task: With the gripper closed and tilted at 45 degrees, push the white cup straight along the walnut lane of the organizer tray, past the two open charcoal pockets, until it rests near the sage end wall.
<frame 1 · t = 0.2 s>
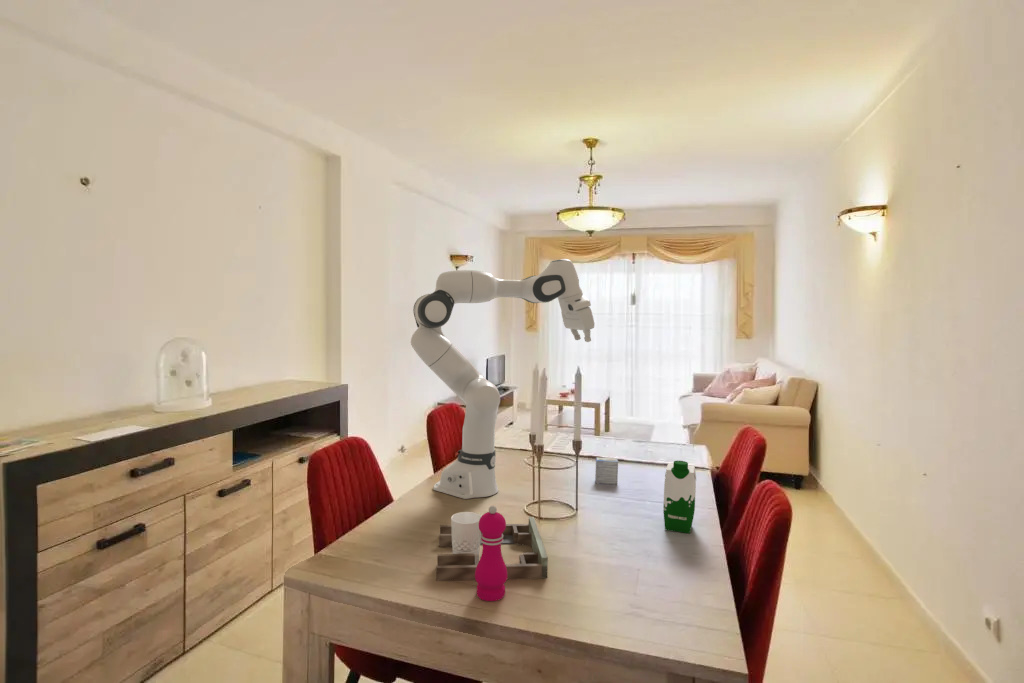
hand: (583, 340, 197), 52 cm above the table, fingers open, 8 cm apart
milk carton: (678, 528, 163), on the table
organizer tray: (489, 555, 142), on the table
medicine box: (606, 482, 204), on the table
white cup: (465, 556, 142), on the table
pepper mill: (490, 595, 123), on the table
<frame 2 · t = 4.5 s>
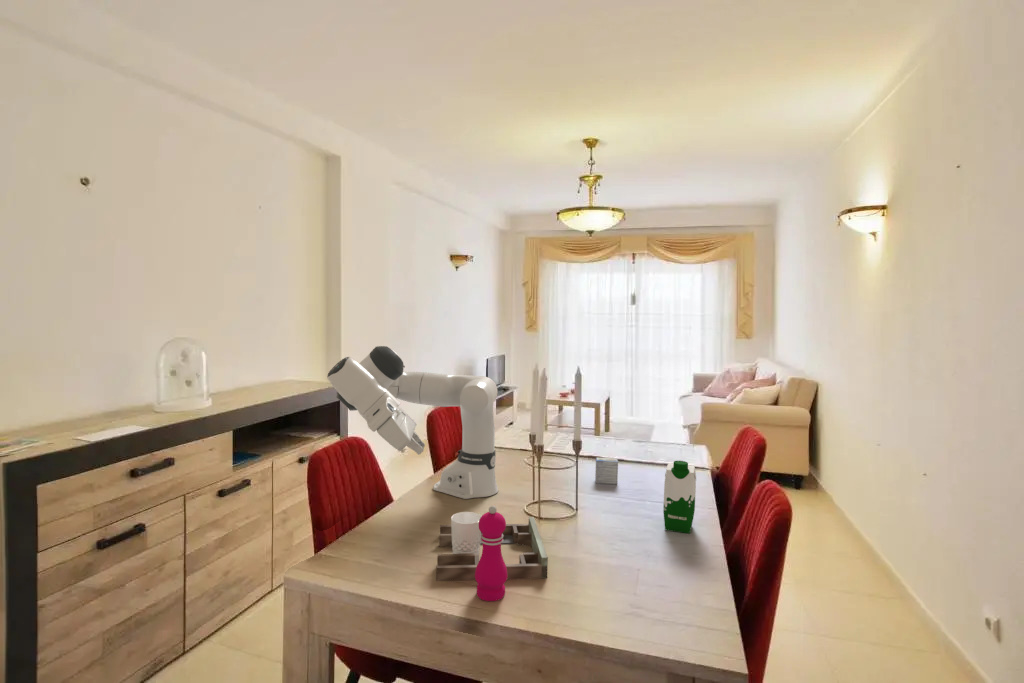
hand: (422, 449, 139), 27 cm above the table, fingers open, 3 cm apart
nothing on the table moved.
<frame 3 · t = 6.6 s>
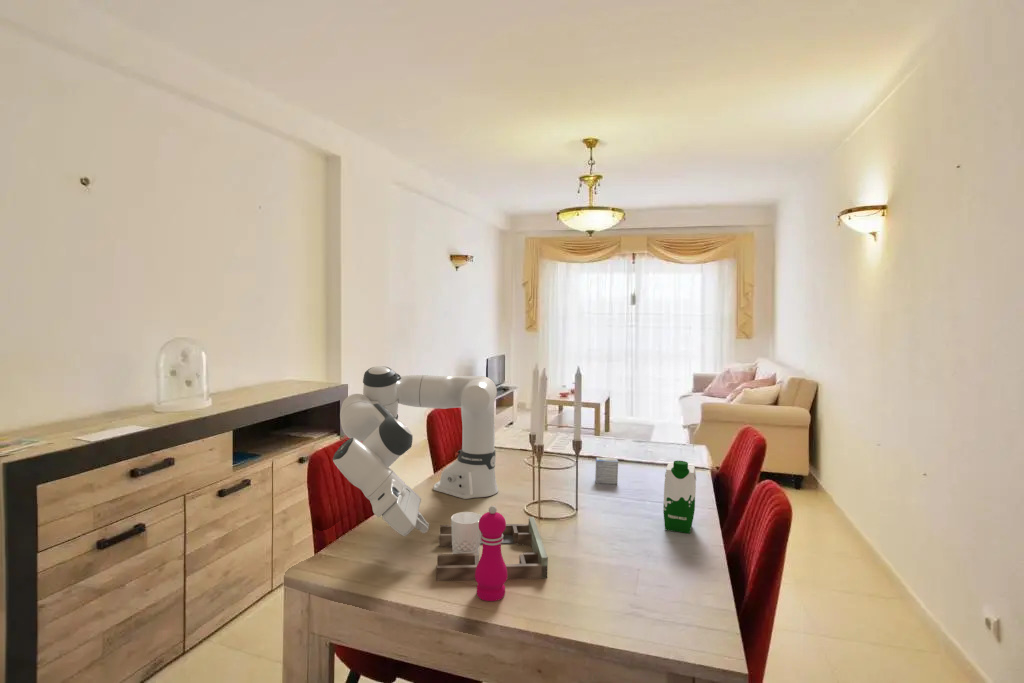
hand: (427, 529, 140), 7 cm above the table, fingers closed
nothing on the table moved.
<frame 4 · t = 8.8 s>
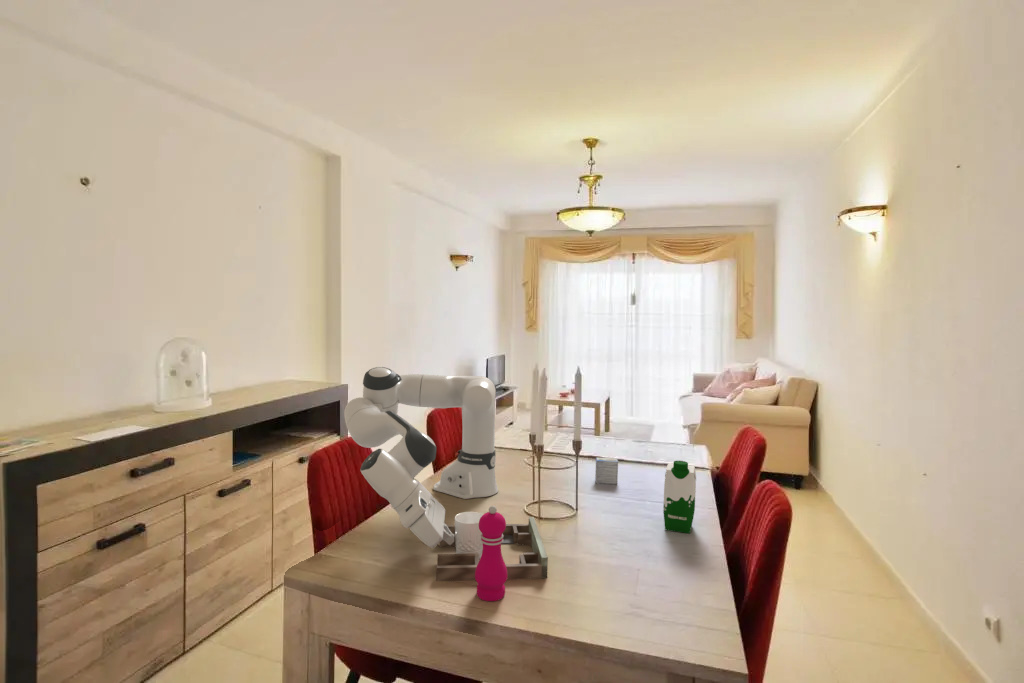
hand: (452, 540, 140), 4 cm above the table, fingers closed
white cup: (469, 556, 142), on the table, touching gripper
everything else where it was.
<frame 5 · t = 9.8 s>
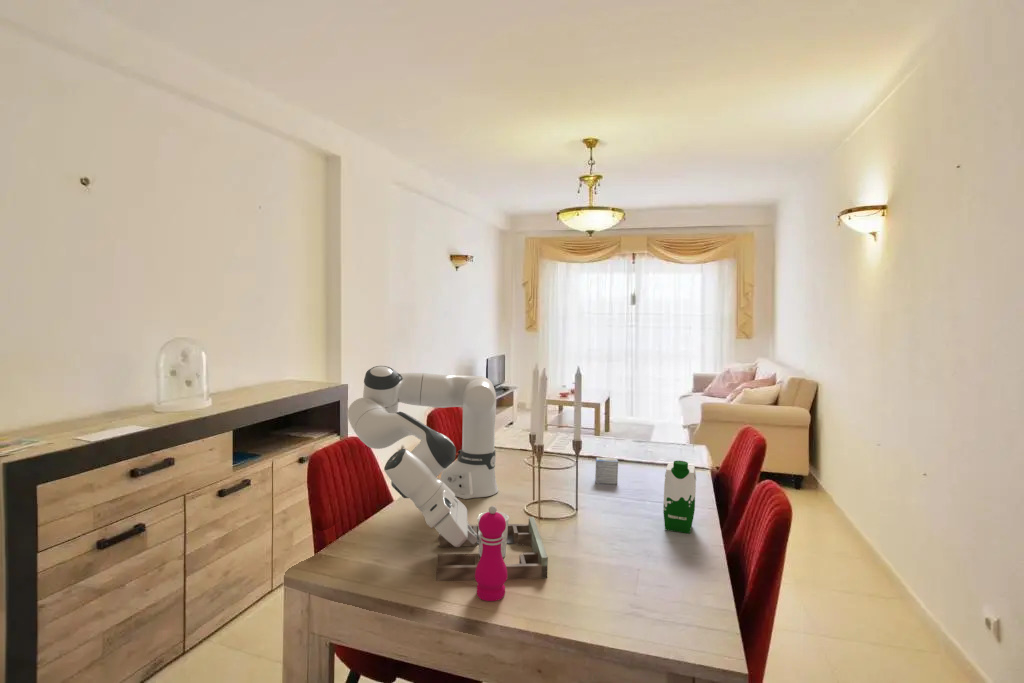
hand: (475, 540, 141), 4 cm above the table, fingers closed
white cup: (492, 555, 142), on the table, touching gripper
everything else where it was.
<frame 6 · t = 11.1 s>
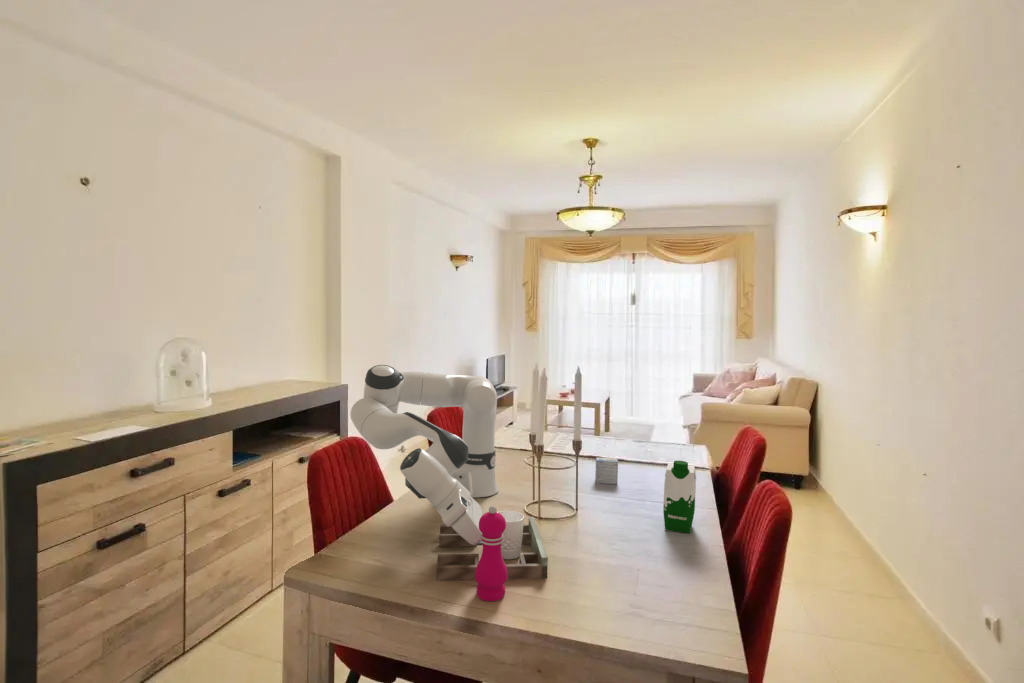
hand: (491, 538, 142), 4 cm above the table, fingers closed
white cup: (507, 554, 143), on the table, touching gripper
everything else where it was.
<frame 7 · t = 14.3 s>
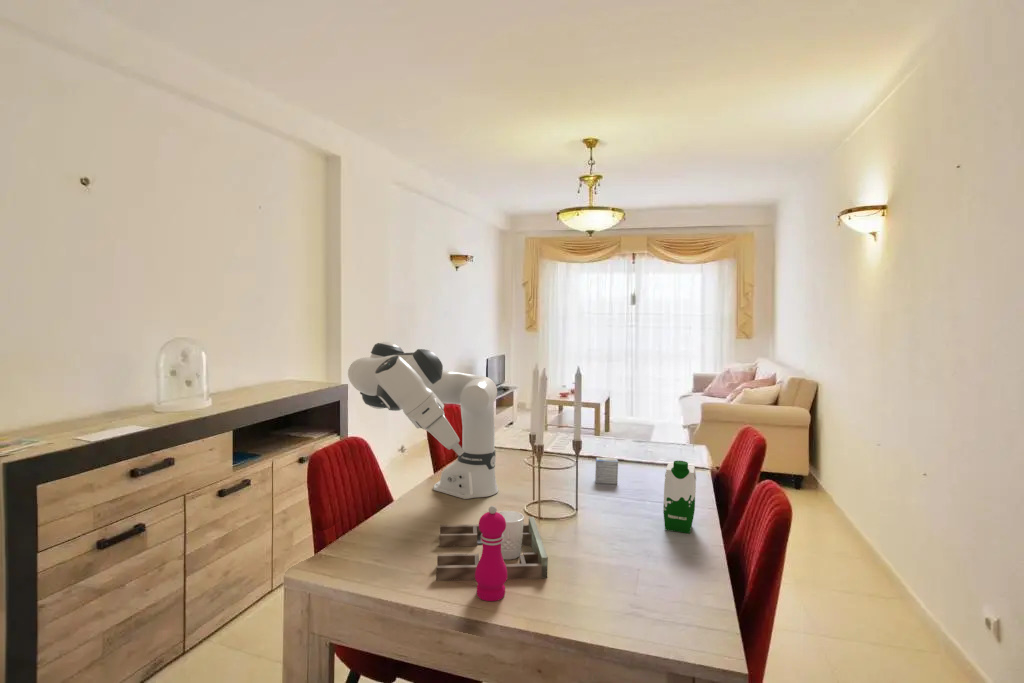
hand: (461, 453, 141), 26 cm above the table, fingers closed
white cup: (507, 554, 143), on the table
everything else where it was.
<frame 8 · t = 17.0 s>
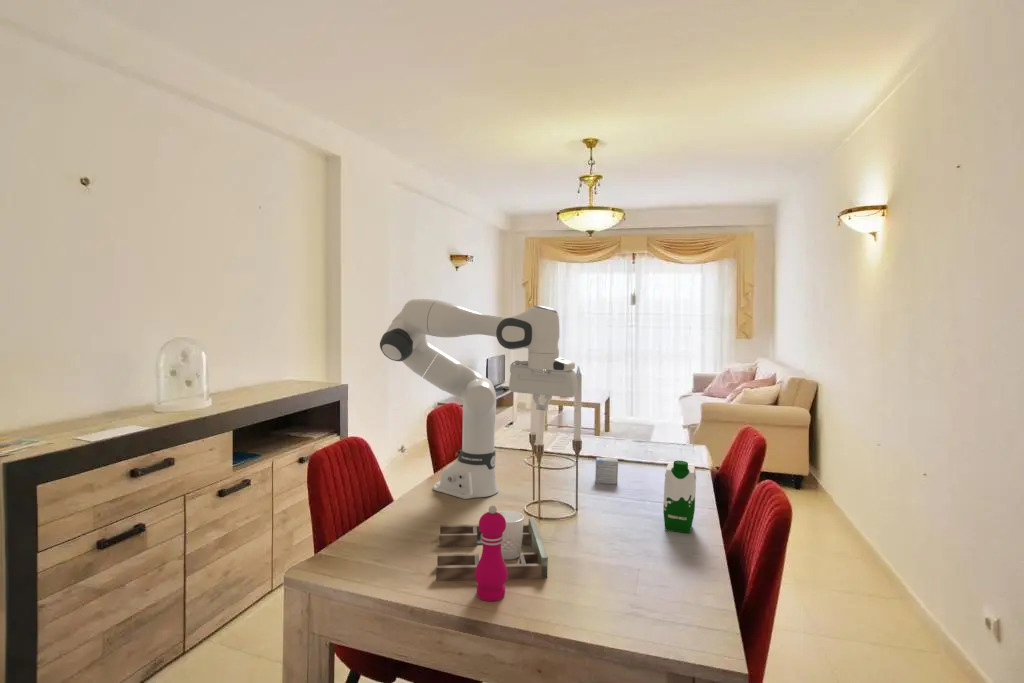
hand: (542, 410, 160), 34 cm above the table, fingers closed
nothing on the table moved.
at the end: white cup inside the target area on the organizer tray (2.4 cm from its centre), point 0.0 cm above the organizer tray's base; white cup tilted 0°; white cup moved 10.8 cm from its start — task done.
